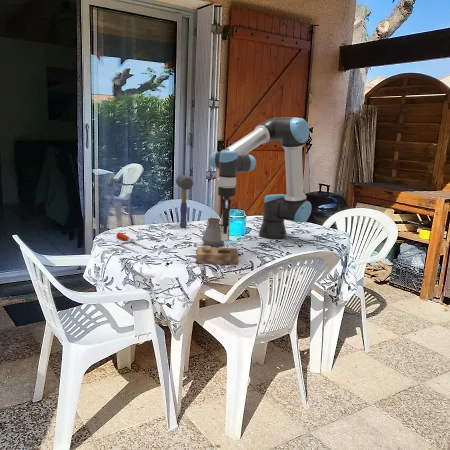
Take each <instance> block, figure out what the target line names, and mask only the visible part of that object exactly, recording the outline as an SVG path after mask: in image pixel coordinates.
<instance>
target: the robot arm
mask: <svg viewBox="0 0 450 450" xmlns="http://www.w3.org/2000/svg"><path fill="white" fill-rule="evenodd" d="M309 137H310V126H309V124H308V121H306V119H304V118H302V117H296V116H295V117H294V116H290V117H286V116H283V117H282V116H277V117H273V118H269V119H267V120H265V121H263V122H261V123H259V124H258V125H257V126H255V128H254V129H253V131H251V132H249V133H248V134H247V135H245V136H242V138H240V139H239V140H237V141H236V142H234V143H232V144H231V145H229V146H228V147H226V148H225V149H222V150H221V151H213V152H211V154H210V155H209V159H208V163H209V165H210V166H211V167H212V168H214V169H218V178H216V180H217V181H218V188H217V194H218V196H219V197H223V198H221V210H222V215H223V224H222V225H221V226H222V239H221V241H224V242H228V241H229V240H228V226H229V215H230V210H231V204H232V200H231V199H230V198H232V197H236V190H237V188H236V186H237V174H238V173H248V172H252V171H254V169H255V168H256V167H257V166H256V165H257V161H256V160H257V159H256V158H255V157H254V156H253V155H251V154H249V153H250V152H251V151H253V150H255V149H256V148H258V147H259V146H261V145H262V144H267V143H269V142H272V141H280V144H281V147H282V148H283V149H284V164H285V165H284V166H285V185H286V194H283V193H276V194H275V193H274V194H266V195H265V196H264V202H263V212H262V213H263V214H262V223H261V225H260V227H259V230H258V236H259V237H261V238H264V239H268V238H269V239H270V240H281V239H282V240H283V239H285V238H287V230H286V229H287V228H286V227H285V226H286V225H285V221H289V222H294V223H300V224H302V223H305V222H306V221H308V219H309V217H310V216H311V213H312V208H313V206H312V203H311V202H310V201H308V199H307V198H308V197H307V195H306V194H305V193H304V173H303V172H304V170H303V147H304V146H305V145H306V142H308V140H309ZM221 226H220V227H221Z"/></svg>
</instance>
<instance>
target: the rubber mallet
mask: <svg viewBox="0 0 450 450" xmlns="http://www.w3.org/2000/svg"><path fill="white" fill-rule="evenodd" d="M175 183H176V185H177V186H178V187H179V188H180V189H181V202H180V208H179V209H180V211H179V212H180V221H179V226H180V228H182V229H185V228H187V225H188V224H187V215H188V206H187V205H188V204H187V190H190V189H192V187H193V186H194V180H193V179H192V178H191V177H190V176H188V175H183V174H180V175H177V177H176V178H175Z"/></svg>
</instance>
